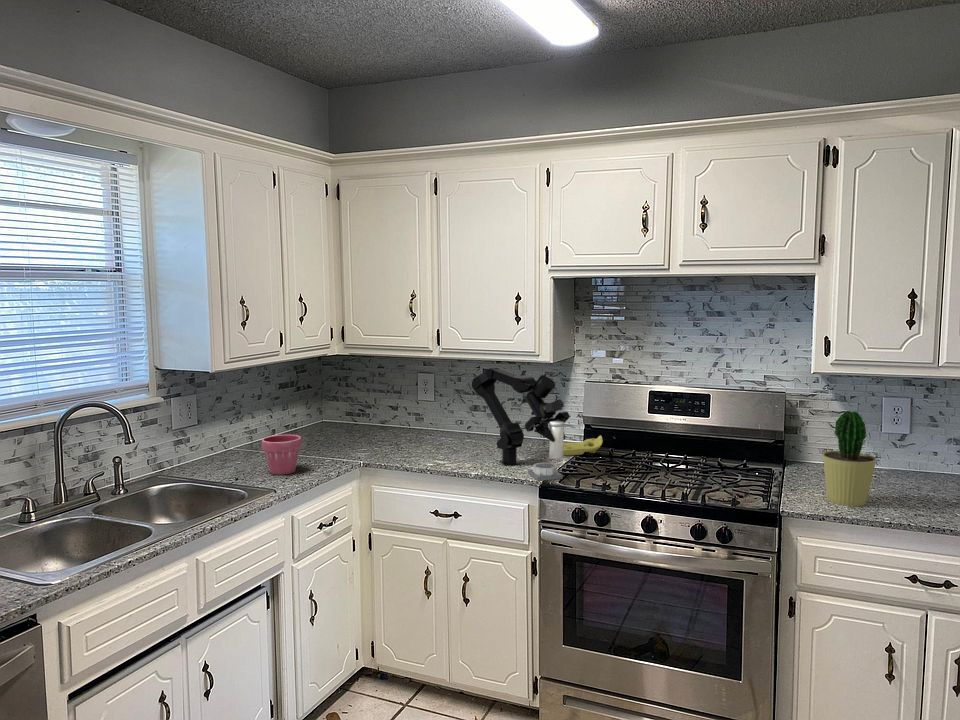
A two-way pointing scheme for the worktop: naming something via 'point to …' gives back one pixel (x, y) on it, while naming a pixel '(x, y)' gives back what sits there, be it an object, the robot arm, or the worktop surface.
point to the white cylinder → (556, 440)
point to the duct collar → (544, 472)
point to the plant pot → (281, 453)
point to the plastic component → (582, 446)
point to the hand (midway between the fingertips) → (559, 440)
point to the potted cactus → (848, 463)
